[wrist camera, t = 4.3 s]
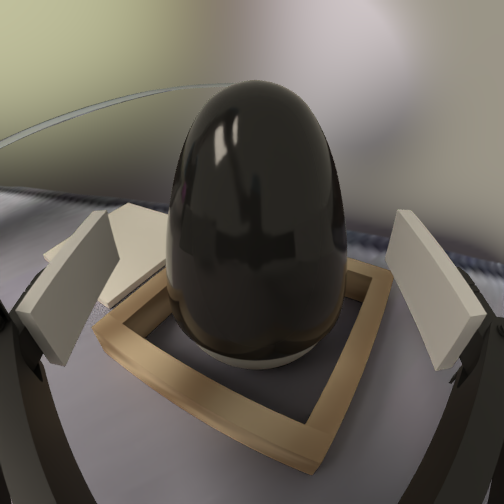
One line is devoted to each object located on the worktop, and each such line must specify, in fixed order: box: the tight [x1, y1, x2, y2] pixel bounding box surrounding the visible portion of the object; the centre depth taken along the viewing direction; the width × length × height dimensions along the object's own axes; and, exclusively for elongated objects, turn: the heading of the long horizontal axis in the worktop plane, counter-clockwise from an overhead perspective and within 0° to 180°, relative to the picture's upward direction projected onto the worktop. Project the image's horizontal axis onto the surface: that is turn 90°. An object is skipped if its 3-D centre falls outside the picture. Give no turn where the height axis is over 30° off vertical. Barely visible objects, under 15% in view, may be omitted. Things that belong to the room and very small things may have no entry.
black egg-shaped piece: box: [166, 80, 347, 370], centre depth 16 cm, size 10×10×15 cm
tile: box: [43, 203, 168, 309], centre depth 29 cm, size 13×13×1 cm
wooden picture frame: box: [92, 257, 394, 475], centre depth 19 cm, size 15×15×2 cm
